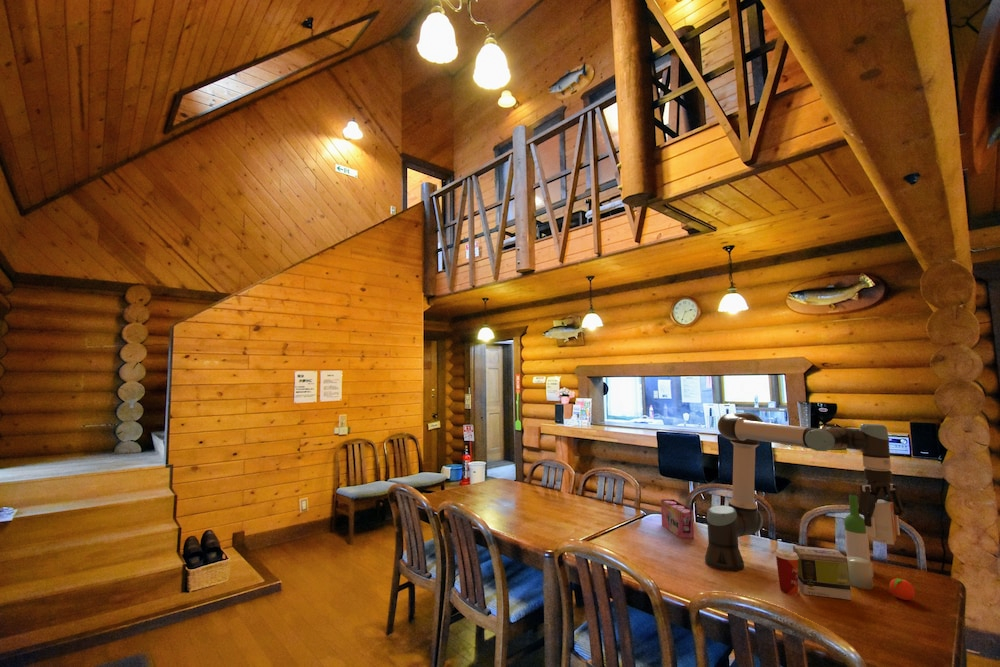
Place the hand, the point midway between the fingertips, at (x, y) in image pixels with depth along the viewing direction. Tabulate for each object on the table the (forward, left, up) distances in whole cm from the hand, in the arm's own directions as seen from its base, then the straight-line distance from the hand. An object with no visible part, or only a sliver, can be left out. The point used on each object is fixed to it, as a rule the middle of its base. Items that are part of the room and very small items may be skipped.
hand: (883, 535), depth 155 cm
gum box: (-18, +92, -26) cm, 98 cm away
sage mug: (+13, +20, -25) cm, 35 cm away
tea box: (-8, +18, -26) cm, 32 cm away
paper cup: (-20, +21, -26) cm, 39 cm away
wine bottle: (+27, +32, -26) cm, 49 cm away
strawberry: (+15, +7, -26) cm, 31 cm away
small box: (0, 0, -2) cm, 2 cm away
